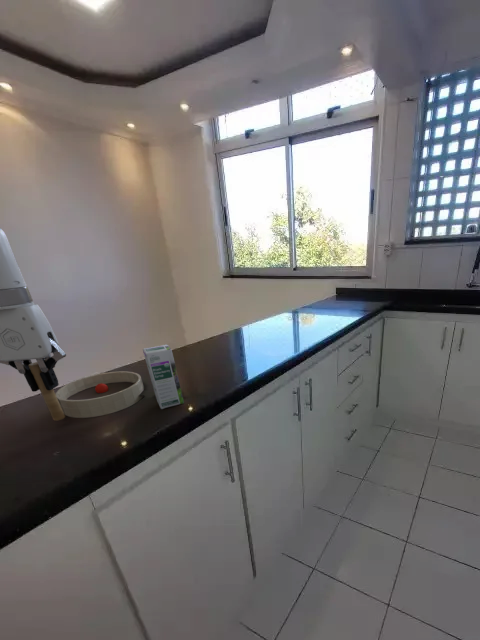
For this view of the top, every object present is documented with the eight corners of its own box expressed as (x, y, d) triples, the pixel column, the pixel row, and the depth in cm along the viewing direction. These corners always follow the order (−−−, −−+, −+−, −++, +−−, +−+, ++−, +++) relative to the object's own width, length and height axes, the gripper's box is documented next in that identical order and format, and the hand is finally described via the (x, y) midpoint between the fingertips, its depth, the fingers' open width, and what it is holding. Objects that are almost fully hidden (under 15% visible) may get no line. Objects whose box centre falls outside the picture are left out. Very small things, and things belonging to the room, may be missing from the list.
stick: (51, 421, 68) (25, 365, 63) (57, 416, 70) (32, 362, 65) (61, 420, 69) (37, 364, 63) (67, 415, 71) (44, 361, 65)
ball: (94, 396, 83) (92, 386, 84) (106, 395, 86) (103, 385, 86) (99, 392, 82) (97, 381, 82) (111, 391, 84) (108, 381, 85)
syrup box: (160, 410, 76) (145, 353, 69) (156, 401, 80) (141, 347, 74) (184, 403, 79) (171, 348, 72) (179, 395, 83) (166, 343, 77)
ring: (45, 421, 73) (37, 404, 71) (85, 388, 90) (80, 374, 88) (129, 414, 75) (124, 397, 73) (154, 383, 92) (150, 369, 90)
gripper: (-59, 305, 54) (-8, 399, 62) (38, 299, 55) (76, 392, 64) (-24, 298, 61) (18, 384, 69) (62, 293, 62) (93, 378, 70)
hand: (45, 387), depth 66 cm, fingers closed on stick, 2 cm apart
